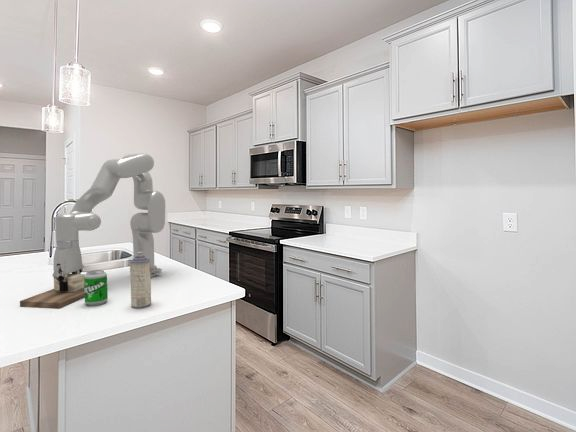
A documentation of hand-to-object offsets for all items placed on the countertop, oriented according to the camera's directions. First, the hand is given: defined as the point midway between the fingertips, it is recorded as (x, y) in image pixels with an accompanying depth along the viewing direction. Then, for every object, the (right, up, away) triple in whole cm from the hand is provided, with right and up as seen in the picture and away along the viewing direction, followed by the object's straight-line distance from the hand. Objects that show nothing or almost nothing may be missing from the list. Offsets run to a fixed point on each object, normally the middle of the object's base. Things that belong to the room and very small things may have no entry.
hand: (69, 288), depth 133 cm
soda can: (+16, -4, -9) cm, 19 cm away
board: (0, -3, -3) cm, 4 cm away
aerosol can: (+34, -4, -11) cm, 36 cm away
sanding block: (0, -1, 0) cm, 1 cm away
